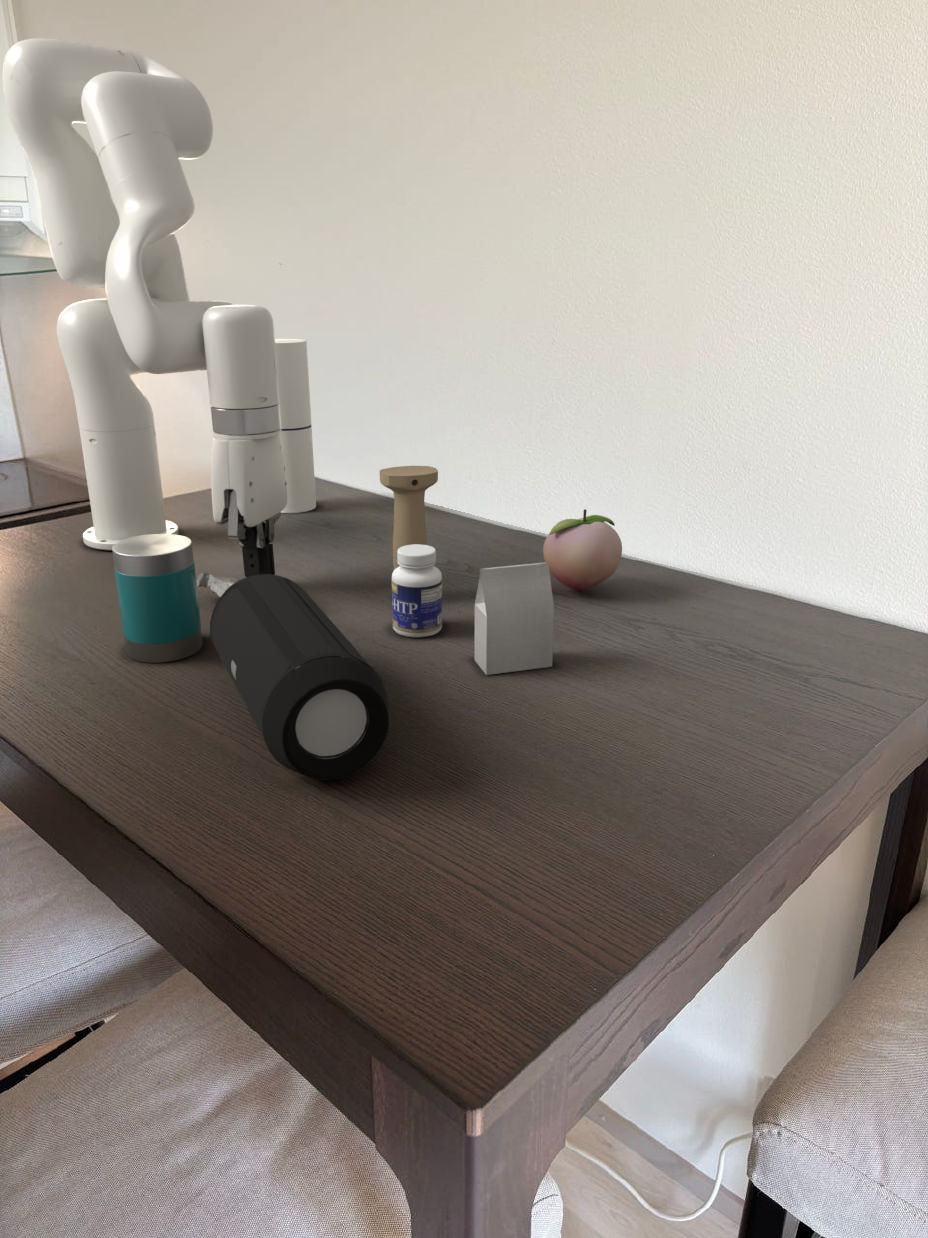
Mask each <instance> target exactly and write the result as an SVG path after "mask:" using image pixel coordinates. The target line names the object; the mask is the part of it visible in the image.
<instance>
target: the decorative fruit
mask: <svg viewBox="0 0 928 1238" xmlns="http://www.w3.org/2000/svg"><path fill="white" fill-rule="evenodd" d="M587 512H588V511H587V509H583V517H580V518H566V519H563V520H560V521H558V522H557V523H556V524H555V525H554V526H553V527H552V528H551V529H550V531H549V533H548V535H547V537H546V539H545V540H544V542H543V547H542V552H543V553H542V554H543V560H544V563H545V562H548V563H549V572H550V574H551V575H552V576H553V577H554V578H555V579H556V580H557V581H558V582H559V583H561V584H562V585H564V586H565V587H567V588H569V589H571V590H573V591H575V592H579V593H583V592H584V590H587V589H589V588H591V587H594V586H597V585H598V584H601V583H603V582H604V581H606V580H608V579H609V578H611V577H612V576H613V575H614V574H615V572H616V570H617V569H618V567H619V565H620V562H621V560H622V556H623V555H622V554H623V542H622V540H621V537H620V535H619V534H618V532H617V531H616V530H615V529H614V528H613V527H612V526H614V527H615V522H614V521H613V520H612V519H611V518H609V517H607V516H604V515H599V514H591V515H588V516H587Z"/></svg>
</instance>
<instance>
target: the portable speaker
mask: <svg viewBox="0 0 928 1238" xmlns="http://www.w3.org/2000/svg"><path fill="white" fill-rule="evenodd" d="M209 633H210V639H211V642H212V645H213V647H214V649H215V651H216V652H217V654H218V656H219V657H220V659H221V661H222V662H223V665H224V666H225V669H226V671H227V672H228V674H229V676H230V678H231V679H232V682H233V683H234V685H235V687H236V689H237V692H238V693H239V695H240V697H241V698H242V700H243V702H244V704H245V707H246V708H247V710H248V711H249V714H250V715H251V717H252V720H253V721H254V723H255V725H256V727H257V729H258V731H259V733H260V734H261V736H262V738H263V740H264V743H265V745H266V747H267V750H268V752H269V753H270V754H271V756H272V757H273V758H274V759H275V761H277V763H278V764H280V765H281V766H283V767H285V768H286V769H288V770H289V771H292V772H294V773H297V774H300V775H302V776H305V777H308V778H311V779H314V780H319V781H320V780H321V781H333V780H339V779H343V778H346V777H349V776H352V775H353V774H355V773H357V772H358V771H361V769H363V768H365V767H366V766H368V765H369V764H370V763H371V761H372V760H374V759H375V758H376V756H378V754H379V752H380V751H381V749H382V748H383V746H384V743H385V742H386V738H387V737H388V732H389V725H390V712H389V711H390V710H389V709H390V708H389V697H388V693H387V692H388V691H387V690H386V687H385V685H384V682H383V680H382V678H381V677H380V676H379V674H378V673H377V672H376V671H375V669H374V668H373V667H372V666H371V665H370V663H369V662H368V661H367V660H366V658H364V656H362V654H361V653H360V652H359V651H358V649H357V648H356V647H355V646H354V645H353V644H352V643H351V642H350V641H349V639H348V638H347V637H346V636H345V635H344V634H343V633H342V631H341V630H340V629H339V628H338V627H337V625H335V624H334V622H333V621H332V620H331V619H330V618H329V617H328V615H327V614H326V613H325V612H324V611H323V610H322V609H321V608H320V606H319V605H318V604H317V603H316V602H315V601H314V600H313V599H312V597H311V595H309V594H308V592H306V590H305V589H304V588H302V587H301V586H300V585H299V584H298V583H296V582H295V581H293V580H291V579H290V578H287V577H285V576H281V575H277V574H275V575H272V574H261V575H254V576H250V577H243V578H241V579H239V581H237V582H235V583H234V584H232V585H231V586H230V587H229V588H228V589H227V590H226V591H225V592H224V593H223V594H222V596H221V597H219V598H218V600H217V601H216V604H215V606H214V607H213V610H212V613H211V616H210V622H209Z"/></svg>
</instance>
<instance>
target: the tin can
mask: <svg viewBox="0 0 928 1238" xmlns="http://www.w3.org/2000/svg"><path fill="white" fill-rule="evenodd" d="M111 551H112V558H113V563H114V576H115V577H114V578H115V583H116V590H117V597H118V605H119V611H120V618H121V626H122V627H121V628H122V632H123V633H122V634H123V637H124V641H125V642H124V643H125V650H126V651H125V652H126V655H127V656H128V658H130V659H131V660H133V661H136V662H139V663H148V664H160V663H170V662H175V661H179V660H183V659H186V658H188V657H191V656H193V655H195V654H197V653H198V652H199V651H200V650H201V649H202V648H203V635H202V634H203V633H202V622H201V612H200V602H199V592H198V587H197V582H196V576H197V574H196V564H195V560H194V552H193V542H192V539H190V538H189V537H187V536H184V535H180V534H178V535H175V534H149V535H141V536H136V537H131V538H128V539H125V540H122V541H119V542H118V543H116V544H115V545H114V546H113V547H112V550H111Z"/></svg>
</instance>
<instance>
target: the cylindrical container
mask: <svg viewBox="0 0 928 1238" xmlns="http://www.w3.org/2000/svg"><path fill="white" fill-rule="evenodd" d="M275 351H276V365H277V378H278V392H279V406H280V420H281V432H282V433H281V434H280V439H281V444H282V450H283V456H284V463H285V472H286V481H287V505H286V507H285V508H284V509H283V510H282V511H281V514H299V513H305V512H309V511H310V512H311V511H312V510H314V509H316V508H317V499H316V495H317V494H316V479H315V478H316V477H315V461H314V460H315V459H314V448H313V447H314V446H313V444H314V443H313V427H312V411H311V410H312V409H311V393H310V378H309V361H308V343H307V339H304V338H275Z"/></svg>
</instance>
